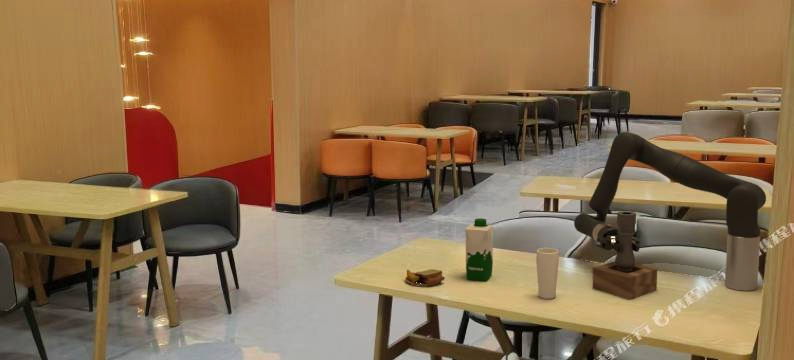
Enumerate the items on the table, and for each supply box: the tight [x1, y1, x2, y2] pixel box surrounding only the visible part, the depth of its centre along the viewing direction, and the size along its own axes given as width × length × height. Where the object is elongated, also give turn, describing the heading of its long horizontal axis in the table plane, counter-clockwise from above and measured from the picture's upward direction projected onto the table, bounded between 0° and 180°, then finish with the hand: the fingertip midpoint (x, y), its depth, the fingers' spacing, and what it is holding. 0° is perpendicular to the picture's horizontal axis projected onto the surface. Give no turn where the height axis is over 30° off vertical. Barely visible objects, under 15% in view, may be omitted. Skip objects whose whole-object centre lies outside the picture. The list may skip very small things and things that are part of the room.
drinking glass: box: [535, 247, 560, 300], centre depth 216 cm, size 7×7×15 cm
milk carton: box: [464, 217, 494, 283], centre depth 237 cm, size 9×9×20 cm
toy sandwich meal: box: [404, 268, 445, 287], centre depth 236 cm, size 12×14×5 cm
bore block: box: [592, 260, 658, 300], centre depth 222 cm, size 14×14×7 cm
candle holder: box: [614, 210, 637, 274], centre depth 221 cm, size 6×6×25 cm
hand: (629, 249), depth 218 cm, fingers open, 5 cm apart
